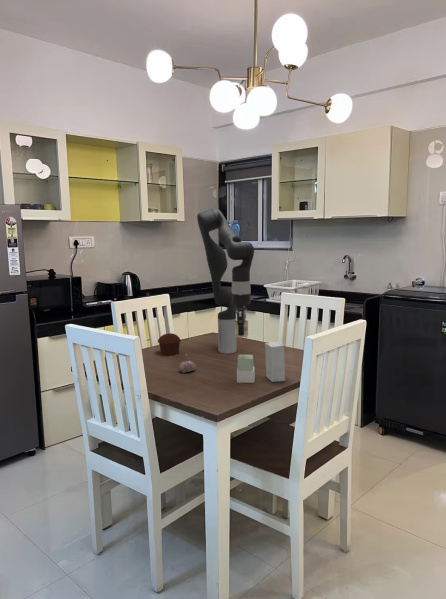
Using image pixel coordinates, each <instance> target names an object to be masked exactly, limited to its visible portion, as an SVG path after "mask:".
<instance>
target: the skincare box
mask: <svg viewBox="0 0 446 599" xmlns="http://www.w3.org/2000/svg"><path fill="white" fill-rule="evenodd" d="M264 350H265V354H264V355H265V377H266V378H267V379H268V380H269V381H271V382H272V383H275V382H276V383H277V382H285V381H286V370H285V369H286V366H285V345H284V344H283V343H281V342H278V341H270V342H265V343H264Z"/></svg>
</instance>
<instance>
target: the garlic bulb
mask: <svg viewBox="0 0 446 599" xmlns="http://www.w3.org/2000/svg"><path fill="white" fill-rule="evenodd" d="M185 359H186V360H185V361H182V362H181V363H180V364H179V366H178V369H179V371H180V372H181V373H182V374H185V373H189V372H191V371H195V370H196V369H197V365H196V364H195V363H194V362H193V361H191V360H190V359H189V356H188V353H185Z"/></svg>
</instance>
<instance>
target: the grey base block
mask: <svg viewBox="0 0 446 599" xmlns="http://www.w3.org/2000/svg"><path fill="white" fill-rule="evenodd" d="M255 369H256V367H255V366H254V365H253V371H238V367H237V369H236V383H237V384H239V383H240V384H241V383H245V384H247V383H248V384H249V383H250V384H254V383H255V378H256V377H255V375H256V370H255Z"/></svg>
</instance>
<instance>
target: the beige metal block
mask: <svg viewBox="0 0 446 599" xmlns="http://www.w3.org/2000/svg"><path fill="white" fill-rule="evenodd" d="M239 323H242V321H239ZM235 337H236V338H248V337H249V320H245V321H244V335H243V336H239V335H238V325H237V319H236V321H235Z"/></svg>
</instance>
